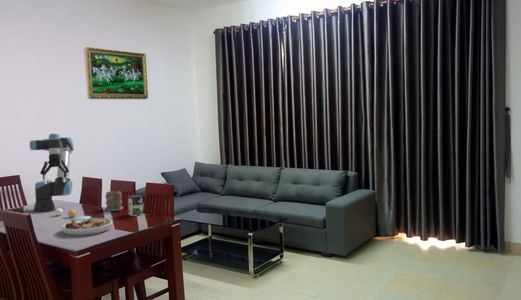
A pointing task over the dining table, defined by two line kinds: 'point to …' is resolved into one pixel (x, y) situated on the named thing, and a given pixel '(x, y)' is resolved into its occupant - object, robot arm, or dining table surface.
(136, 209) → the coffee can
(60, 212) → the cue ball
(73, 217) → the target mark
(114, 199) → the tankard
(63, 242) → the dining table surface
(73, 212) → the object ball
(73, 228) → the bowl
